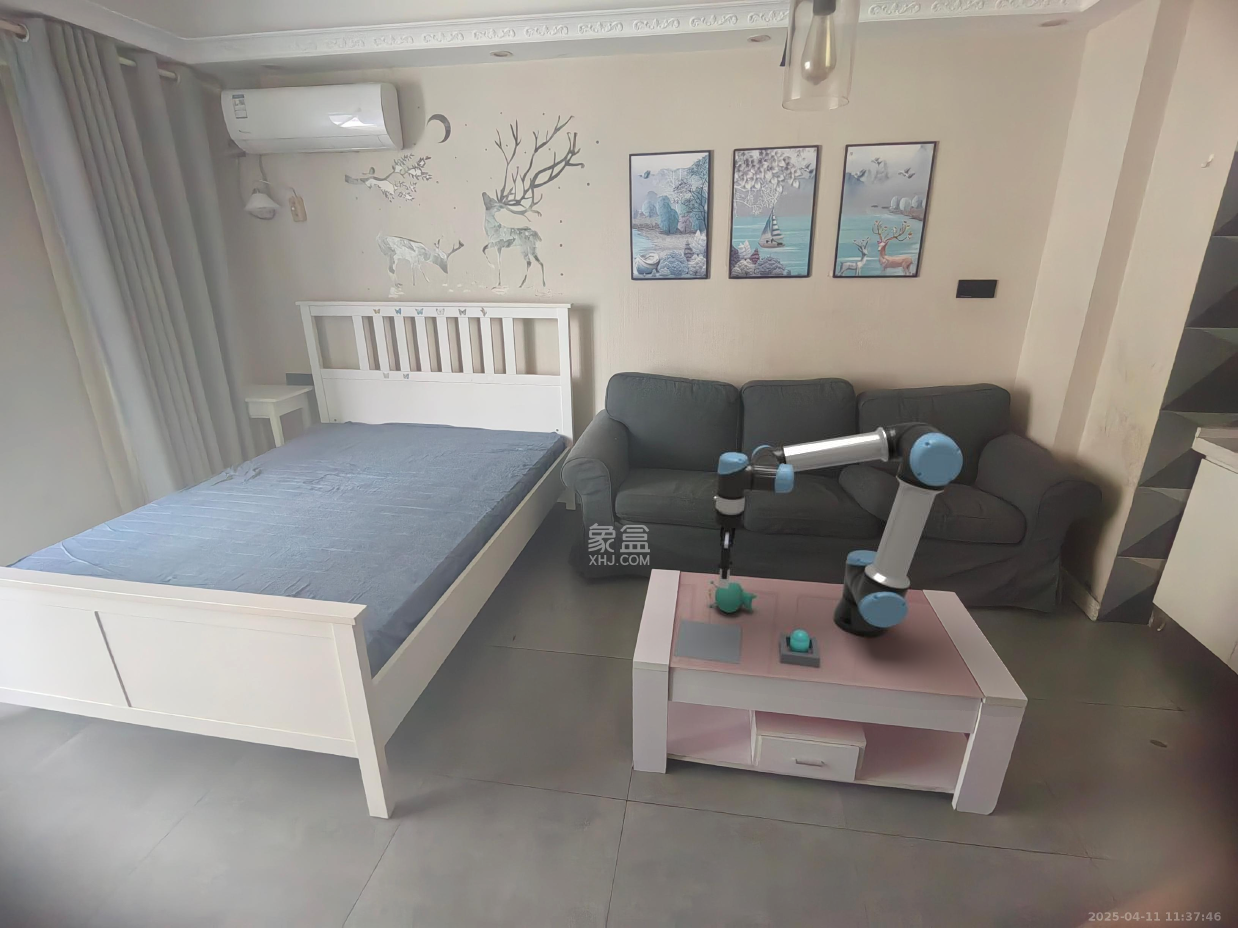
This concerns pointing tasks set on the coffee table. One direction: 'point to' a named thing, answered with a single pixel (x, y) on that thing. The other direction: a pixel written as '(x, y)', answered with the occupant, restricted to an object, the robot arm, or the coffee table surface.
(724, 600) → the toy
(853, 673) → the coffee table surface
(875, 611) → the robot arm
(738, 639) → the mat
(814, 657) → the dome housing
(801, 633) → the dome
